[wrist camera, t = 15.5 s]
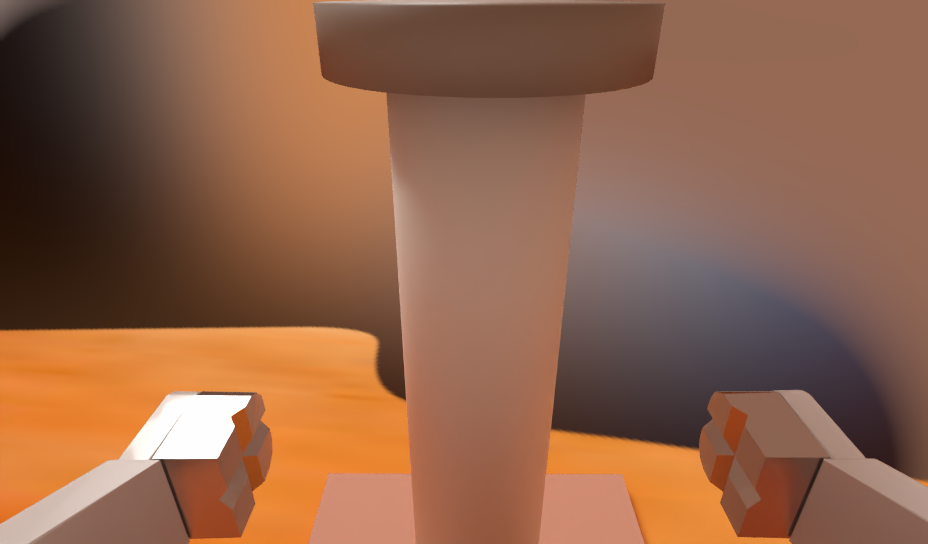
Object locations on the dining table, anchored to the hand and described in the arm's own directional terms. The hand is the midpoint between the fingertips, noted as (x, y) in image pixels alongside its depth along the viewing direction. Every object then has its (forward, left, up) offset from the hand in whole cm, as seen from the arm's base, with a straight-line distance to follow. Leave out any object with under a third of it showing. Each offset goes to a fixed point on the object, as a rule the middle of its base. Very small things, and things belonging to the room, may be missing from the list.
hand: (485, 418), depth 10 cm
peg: (0, +4, -10) cm, 11 cm away
